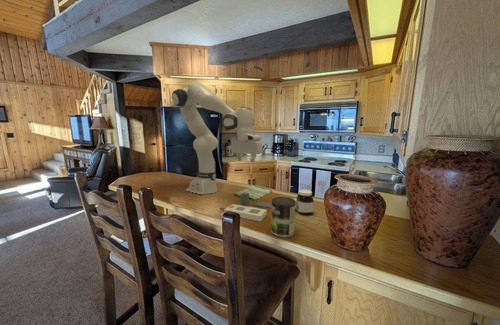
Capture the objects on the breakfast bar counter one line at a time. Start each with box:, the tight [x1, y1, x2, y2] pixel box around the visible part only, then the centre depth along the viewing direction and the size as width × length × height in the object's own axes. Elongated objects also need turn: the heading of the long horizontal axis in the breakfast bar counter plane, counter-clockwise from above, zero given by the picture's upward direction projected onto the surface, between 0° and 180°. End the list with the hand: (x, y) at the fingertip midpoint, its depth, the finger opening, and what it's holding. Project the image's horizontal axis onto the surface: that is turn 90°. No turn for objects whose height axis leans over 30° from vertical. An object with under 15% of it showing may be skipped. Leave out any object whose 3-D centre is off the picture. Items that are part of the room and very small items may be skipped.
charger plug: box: [240, 193, 250, 207], centre depth 121 cm, size 4×4×8 cm
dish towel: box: [233, 184, 273, 202], centre depth 146 cm, size 17×23×4 cm
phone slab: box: [252, 200, 272, 210], centre depth 125 cm, size 14×7×1 cm, turn 67°
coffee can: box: [270, 196, 296, 238], centre depth 93 cm, size 10×10×14 cm
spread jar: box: [293, 189, 315, 216], centre depth 115 cm, size 12×11×12 cm
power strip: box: [219, 203, 268, 223], centre depth 111 cm, size 25×9×4 cm, turn 67°
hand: (245, 161), depth 121 cm, fingers open, 8 cm apart
